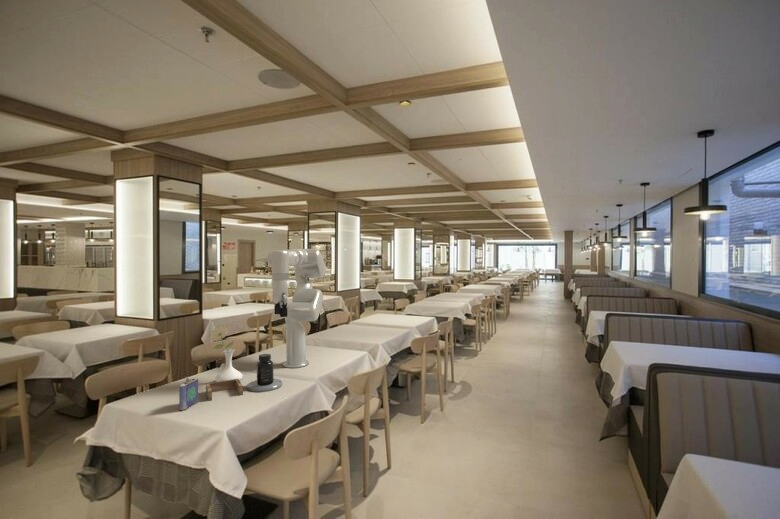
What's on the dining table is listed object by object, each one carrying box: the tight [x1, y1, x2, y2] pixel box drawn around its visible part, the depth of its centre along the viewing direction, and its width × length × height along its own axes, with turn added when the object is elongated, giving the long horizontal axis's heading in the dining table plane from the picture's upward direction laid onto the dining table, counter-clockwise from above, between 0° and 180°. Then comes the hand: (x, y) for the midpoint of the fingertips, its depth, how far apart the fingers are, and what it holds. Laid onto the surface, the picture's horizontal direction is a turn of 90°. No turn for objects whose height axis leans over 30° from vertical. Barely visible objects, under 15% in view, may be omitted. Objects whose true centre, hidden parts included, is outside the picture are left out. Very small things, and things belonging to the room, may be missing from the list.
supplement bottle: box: [255, 353, 275, 386], centre depth 164 cm, size 7×7×12 cm
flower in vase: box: [209, 325, 244, 382], centre depth 170 cm, size 13×11×25 cm
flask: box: [178, 376, 199, 412], centre depth 142 cm, size 9×3×11 cm, turn 173°
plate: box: [246, 378, 283, 393], centre depth 164 cm, size 14×14×1 cm
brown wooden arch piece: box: [205, 379, 244, 402], centre depth 155 cm, size 11×12×4 cm
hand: (280, 315), depth 175 cm, fingers open, 9 cm apart
